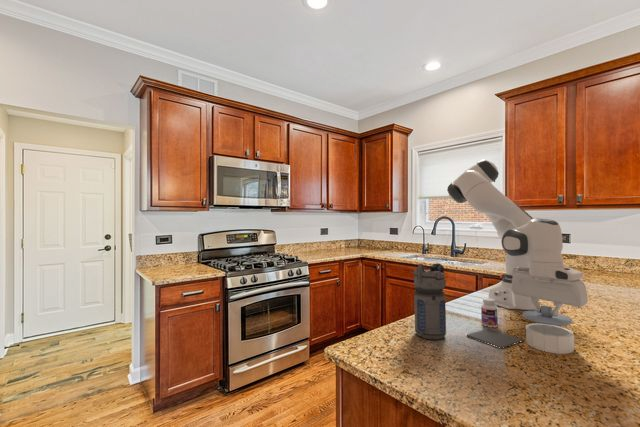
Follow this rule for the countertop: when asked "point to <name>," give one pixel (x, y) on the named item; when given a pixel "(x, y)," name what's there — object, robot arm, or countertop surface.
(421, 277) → the beverage bottle
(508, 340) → the mat
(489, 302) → the pill bottle
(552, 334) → the bowl
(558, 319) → the lid
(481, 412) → the countertop surface
